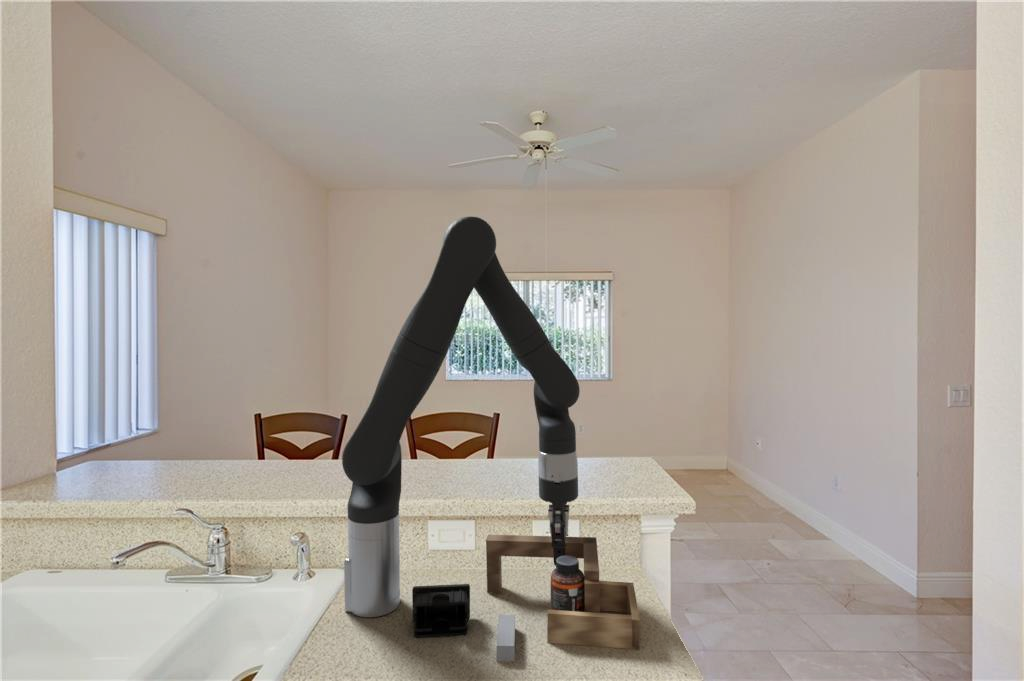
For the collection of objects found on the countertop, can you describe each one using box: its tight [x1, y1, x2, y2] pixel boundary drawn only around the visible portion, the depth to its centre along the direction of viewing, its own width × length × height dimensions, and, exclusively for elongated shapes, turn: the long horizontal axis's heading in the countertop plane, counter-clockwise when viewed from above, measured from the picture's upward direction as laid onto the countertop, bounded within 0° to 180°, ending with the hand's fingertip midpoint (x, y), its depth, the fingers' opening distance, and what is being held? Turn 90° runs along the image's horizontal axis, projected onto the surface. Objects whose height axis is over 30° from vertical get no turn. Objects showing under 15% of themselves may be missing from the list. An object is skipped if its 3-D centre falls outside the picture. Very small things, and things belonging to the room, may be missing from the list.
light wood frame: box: [546, 580, 641, 650], centre depth 99 cm, size 15×12×5 cm
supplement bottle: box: [550, 556, 585, 612], centre depth 100 cm, size 6×6×11 cm
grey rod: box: [495, 614, 516, 663], centre depth 94 cm, size 9×3×3 cm, turn 179°
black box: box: [411, 583, 471, 640], centre depth 99 cm, size 10×7×7 cm
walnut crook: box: [485, 534, 601, 613], centre depth 104 cm, size 21×16×10 cm
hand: (560, 560), depth 110 cm, fingers closed on walnut crook, 3 cm apart
